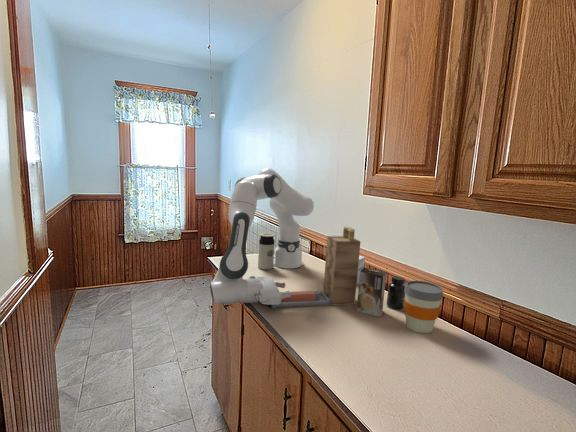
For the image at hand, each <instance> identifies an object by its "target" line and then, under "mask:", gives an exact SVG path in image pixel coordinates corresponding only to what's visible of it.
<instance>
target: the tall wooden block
mask: <svg viewBox="0 0 576 432" xmlns="http://www.w3.org/2000/svg"><path fill="white" fill-rule="evenodd" d="M355 232H356V230H355V229H354V228H352V227H350V226H343V233H342V235H327V239H326V241H327V243H326V252H325V253H326V254H325V265H324V266H325V267H324V278H323V291H322V292H324V294H325V295H326V296H327V297H328V298H329V299H330V300H331V305H330V306H337V305H338V306H340V305H355V302H356V292H357V285H358V284H357V273H358V263H359V256H360V250H361V241H360V240H358V239H357V238H355ZM356 284H357V285H356Z"/></svg>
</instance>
